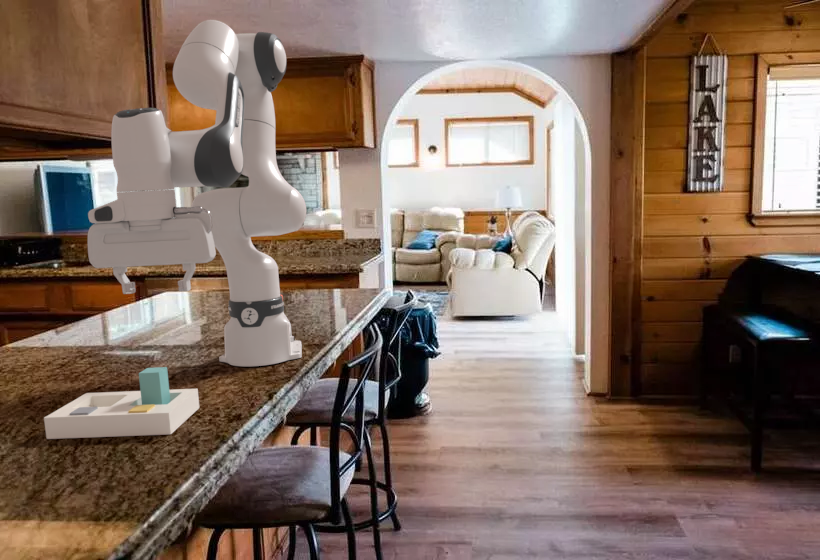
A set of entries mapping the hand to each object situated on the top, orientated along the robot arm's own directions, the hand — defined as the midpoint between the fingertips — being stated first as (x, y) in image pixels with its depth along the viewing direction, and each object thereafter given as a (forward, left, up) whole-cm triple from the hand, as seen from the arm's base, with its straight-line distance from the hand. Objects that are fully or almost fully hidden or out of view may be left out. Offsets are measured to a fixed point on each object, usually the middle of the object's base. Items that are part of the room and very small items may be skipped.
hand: (157, 292), depth 111 cm
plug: (+1, -2, -21) cm, 21 cm away
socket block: (+3, -6, -21) cm, 22 cm away
